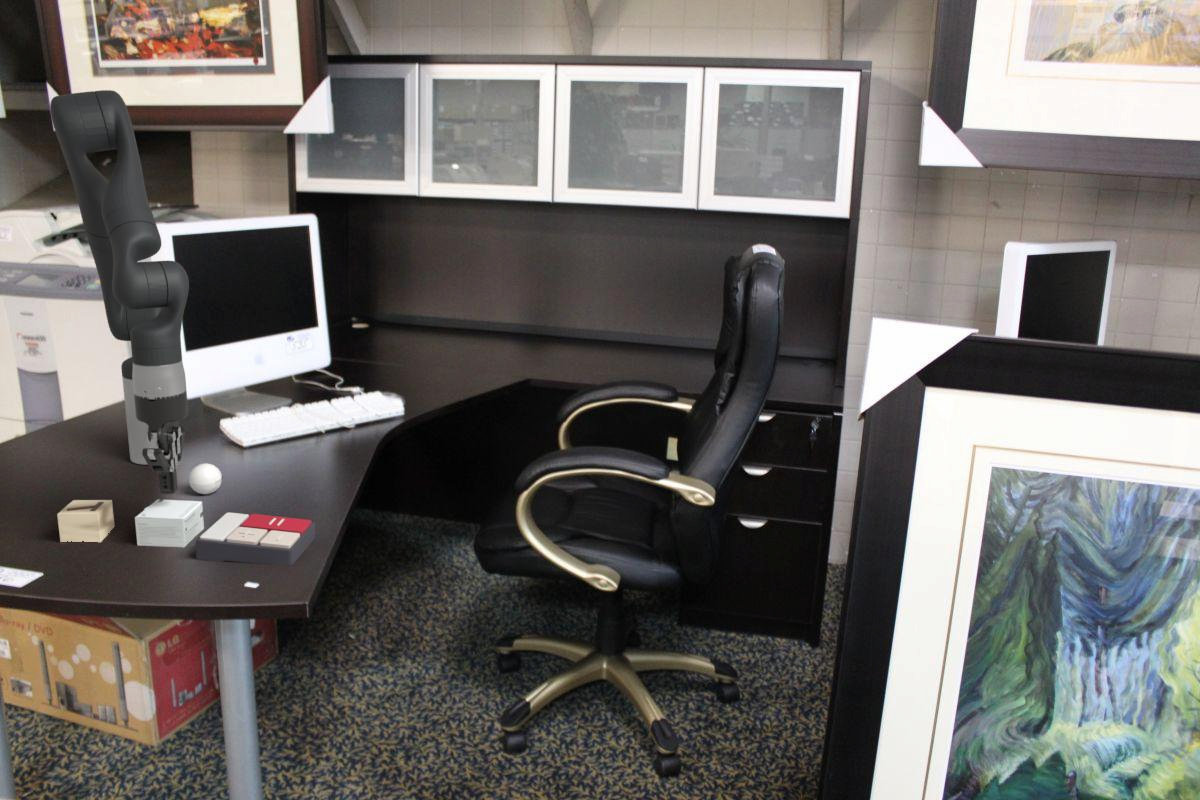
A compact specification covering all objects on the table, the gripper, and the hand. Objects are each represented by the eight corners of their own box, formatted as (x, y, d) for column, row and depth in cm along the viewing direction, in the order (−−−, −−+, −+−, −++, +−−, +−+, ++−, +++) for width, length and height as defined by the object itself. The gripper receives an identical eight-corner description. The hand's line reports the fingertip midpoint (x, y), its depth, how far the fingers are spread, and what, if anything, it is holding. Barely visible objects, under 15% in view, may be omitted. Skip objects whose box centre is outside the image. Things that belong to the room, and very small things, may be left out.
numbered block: (76, 528, 156) (73, 499, 154) (114, 528, 156) (111, 499, 155) (60, 543, 150) (57, 513, 148) (100, 543, 151) (97, 513, 149)
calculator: (291, 545, 144) (194, 535, 145) (291, 571, 146) (195, 561, 146) (316, 518, 155) (225, 508, 155) (315, 542, 156) (226, 532, 157)
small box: (185, 548, 150) (182, 518, 149) (136, 546, 150) (133, 516, 149) (205, 529, 158) (203, 500, 156) (158, 527, 157) (156, 498, 156)
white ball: (212, 500, 169) (210, 470, 168) (183, 497, 170) (181, 467, 169) (235, 485, 177) (233, 457, 175) (207, 482, 177) (205, 454, 176)
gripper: (150, 377, 154) (159, 477, 158) (118, 400, 141) (129, 507, 146) (198, 378, 154) (206, 477, 159) (170, 401, 142) (179, 508, 146)
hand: (169, 492), depth 152 cm, fingers closed
